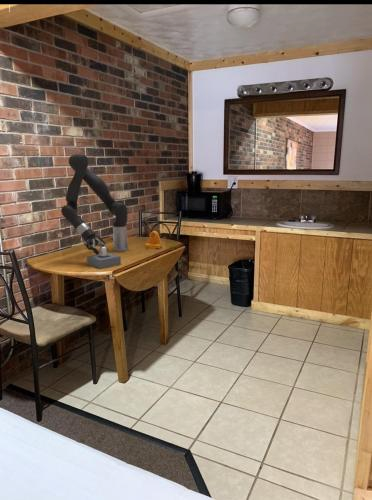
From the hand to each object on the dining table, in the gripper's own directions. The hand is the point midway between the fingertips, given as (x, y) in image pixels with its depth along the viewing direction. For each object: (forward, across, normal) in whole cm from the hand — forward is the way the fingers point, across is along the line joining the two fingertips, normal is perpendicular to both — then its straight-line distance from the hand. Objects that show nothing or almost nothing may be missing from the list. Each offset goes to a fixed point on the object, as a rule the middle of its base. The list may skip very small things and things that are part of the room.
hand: (102, 252), depth 217 cm
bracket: (+10, +54, +1) cm, 54 cm away
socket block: (+6, 0, +5) cm, 7 cm away
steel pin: (+5, 0, +4) cm, 7 cm away
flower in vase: (-20, +72, +30) cm, 81 cm away
